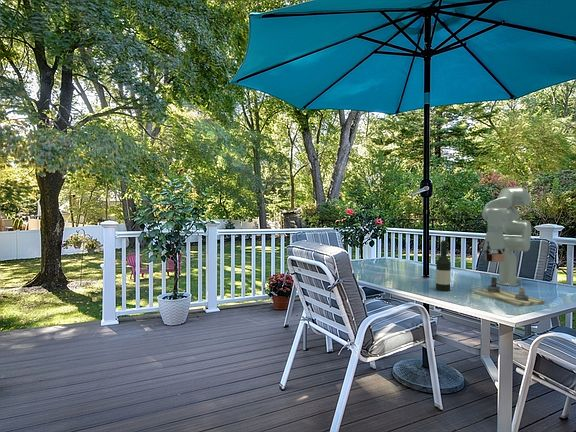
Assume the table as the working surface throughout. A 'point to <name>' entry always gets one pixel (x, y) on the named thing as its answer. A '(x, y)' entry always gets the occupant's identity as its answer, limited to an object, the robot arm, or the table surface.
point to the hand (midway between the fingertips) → (494, 260)
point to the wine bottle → (443, 270)
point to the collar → (496, 257)
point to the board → (508, 295)
